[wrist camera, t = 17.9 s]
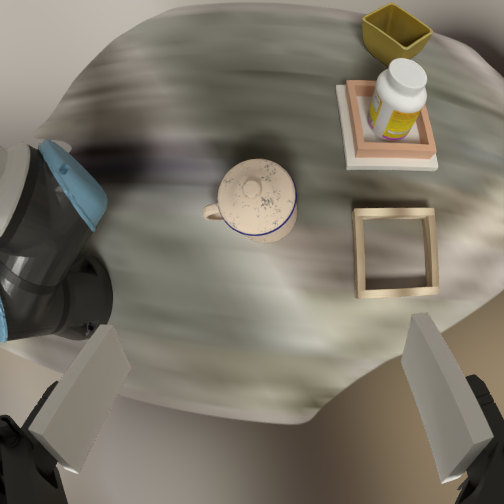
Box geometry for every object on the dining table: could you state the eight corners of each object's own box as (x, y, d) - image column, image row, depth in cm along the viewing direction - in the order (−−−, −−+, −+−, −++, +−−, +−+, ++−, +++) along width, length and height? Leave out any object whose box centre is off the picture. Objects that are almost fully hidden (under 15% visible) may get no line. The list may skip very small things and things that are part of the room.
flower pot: (422, 62, 41) (435, 30, 32) (395, 83, 42) (406, 49, 33) (384, 34, 43) (391, 1, 34) (355, 53, 43) (360, 18, 34)
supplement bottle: (416, 126, 39) (444, 79, 26) (391, 151, 39) (416, 106, 27) (383, 97, 40) (400, 44, 28) (357, 121, 41) (369, 67, 28)
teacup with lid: (292, 176, 43) (286, 140, 32) (304, 238, 42) (302, 222, 31) (211, 192, 45) (180, 164, 34) (219, 253, 44) (188, 243, 33)
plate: (346, 169, 42) (349, 157, 37) (335, 90, 43) (336, 73, 39) (434, 171, 39) (445, 160, 35) (416, 93, 41) (424, 78, 36)
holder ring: (355, 297, 40) (357, 298, 37) (351, 212, 41) (354, 208, 39) (432, 293, 38) (439, 293, 35) (427, 211, 39) (433, 208, 37)
